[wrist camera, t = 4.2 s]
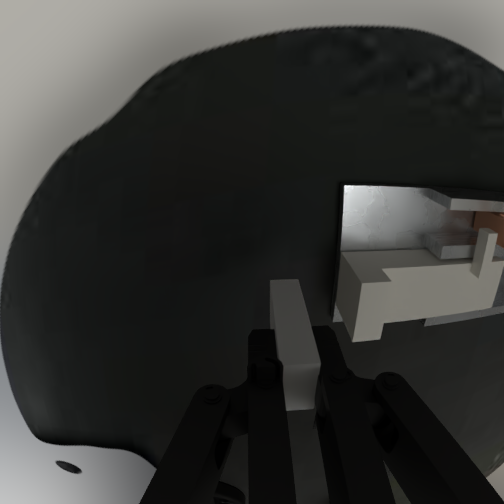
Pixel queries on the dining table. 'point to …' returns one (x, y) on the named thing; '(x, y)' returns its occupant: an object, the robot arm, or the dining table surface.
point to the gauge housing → (415, 228)
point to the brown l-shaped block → (491, 223)
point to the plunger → (414, 285)
